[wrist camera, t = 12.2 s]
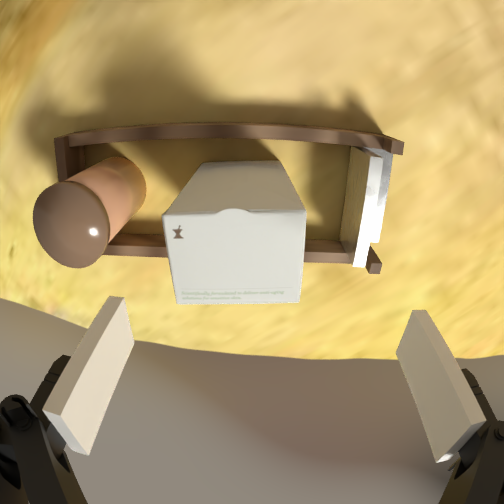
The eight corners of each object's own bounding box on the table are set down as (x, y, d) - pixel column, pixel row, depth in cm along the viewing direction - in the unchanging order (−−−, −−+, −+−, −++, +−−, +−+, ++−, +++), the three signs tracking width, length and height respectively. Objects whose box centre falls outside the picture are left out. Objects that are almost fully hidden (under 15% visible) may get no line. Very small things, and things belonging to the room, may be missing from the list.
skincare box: (204, 218, 34) (169, 308, 20) (200, 157, 31) (154, 211, 17) (283, 218, 34) (300, 309, 20) (285, 156, 31) (308, 209, 17)
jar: (93, 219, 34) (43, 265, 24) (85, 157, 31) (26, 187, 21) (150, 219, 34) (112, 270, 24) (145, 153, 31) (98, 181, 21)
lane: (88, 242, 35) (69, 262, 31) (73, 132, 29) (48, 140, 25) (366, 251, 35) (379, 273, 31) (384, 134, 29) (404, 142, 25)
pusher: (338, 238, 34) (352, 266, 29) (350, 144, 30) (370, 156, 24) (376, 240, 34) (396, 267, 29) (391, 150, 30) (417, 162, 24)
